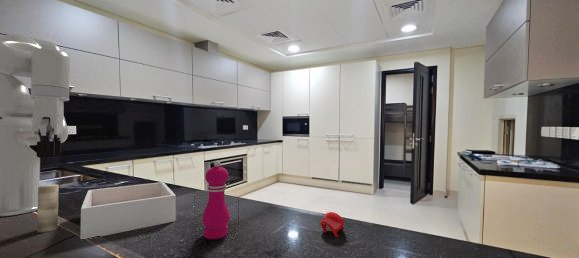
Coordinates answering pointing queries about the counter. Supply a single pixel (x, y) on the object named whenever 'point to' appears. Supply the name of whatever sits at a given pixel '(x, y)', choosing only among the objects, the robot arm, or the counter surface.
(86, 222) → the box
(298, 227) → the counter surface
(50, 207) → the peg
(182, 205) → the counter surface
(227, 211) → the pepper mill
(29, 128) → the robot arm
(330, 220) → the red toy chair
